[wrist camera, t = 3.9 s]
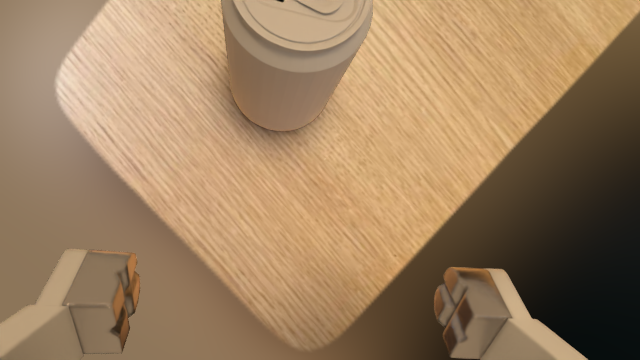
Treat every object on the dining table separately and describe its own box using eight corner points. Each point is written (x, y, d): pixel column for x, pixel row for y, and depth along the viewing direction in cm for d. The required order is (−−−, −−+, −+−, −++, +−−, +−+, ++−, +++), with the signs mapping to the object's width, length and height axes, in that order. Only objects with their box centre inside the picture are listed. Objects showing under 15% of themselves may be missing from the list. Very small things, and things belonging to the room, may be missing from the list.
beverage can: (259, 24, 29) (266, -125, 17) (343, 70, 29) (408, -43, 17) (212, 105, 27) (185, 4, 16) (302, 151, 28) (340, 88, 16)
